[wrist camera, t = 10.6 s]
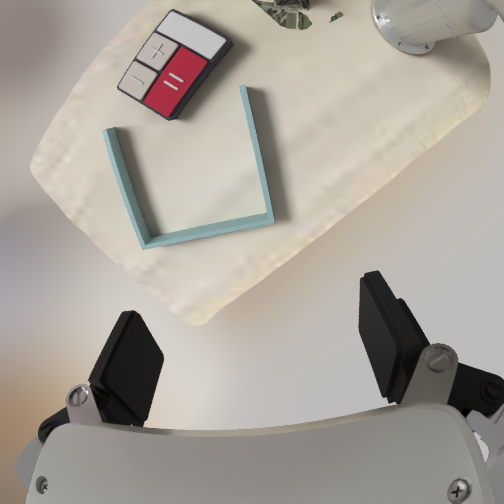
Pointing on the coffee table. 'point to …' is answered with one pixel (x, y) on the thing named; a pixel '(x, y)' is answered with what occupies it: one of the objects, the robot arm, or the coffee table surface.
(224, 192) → the coffee table surface
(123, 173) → the teal u-shaped piece
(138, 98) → the calculator
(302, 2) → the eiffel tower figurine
